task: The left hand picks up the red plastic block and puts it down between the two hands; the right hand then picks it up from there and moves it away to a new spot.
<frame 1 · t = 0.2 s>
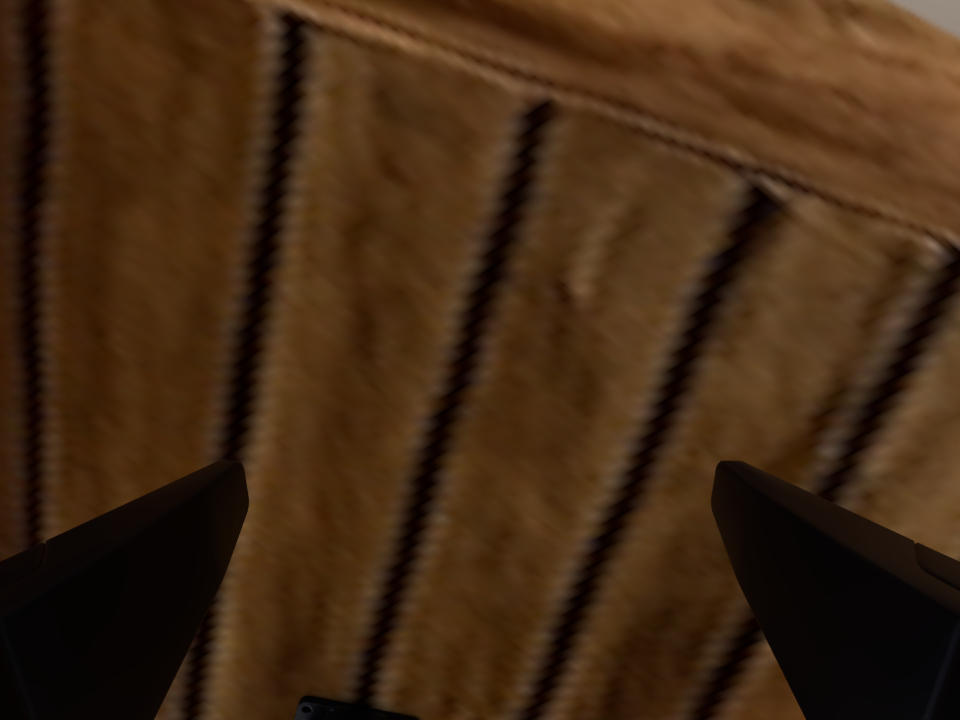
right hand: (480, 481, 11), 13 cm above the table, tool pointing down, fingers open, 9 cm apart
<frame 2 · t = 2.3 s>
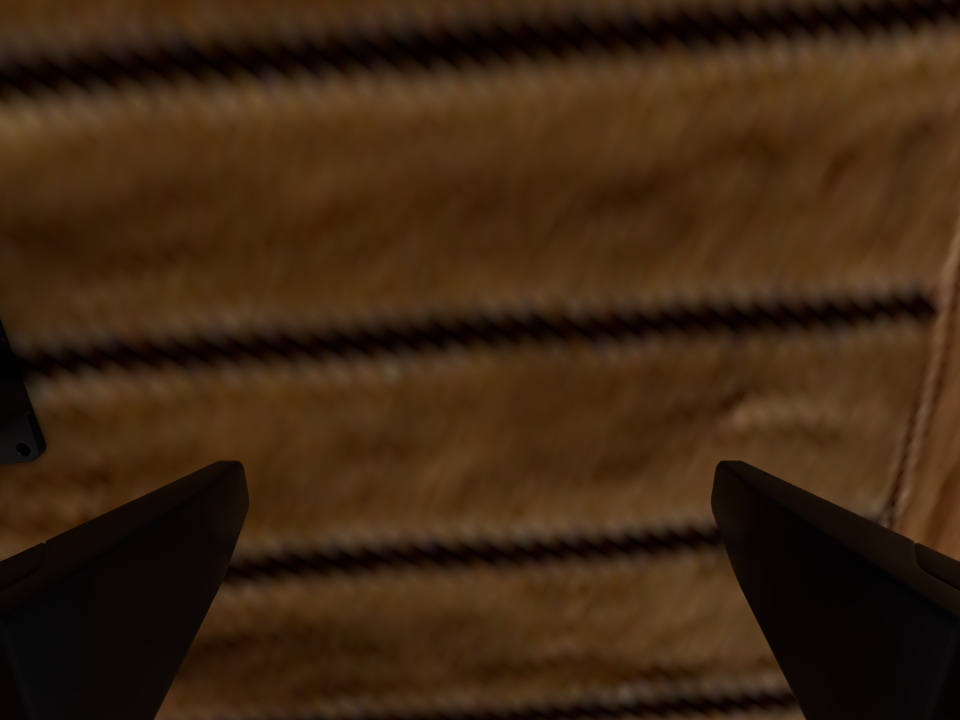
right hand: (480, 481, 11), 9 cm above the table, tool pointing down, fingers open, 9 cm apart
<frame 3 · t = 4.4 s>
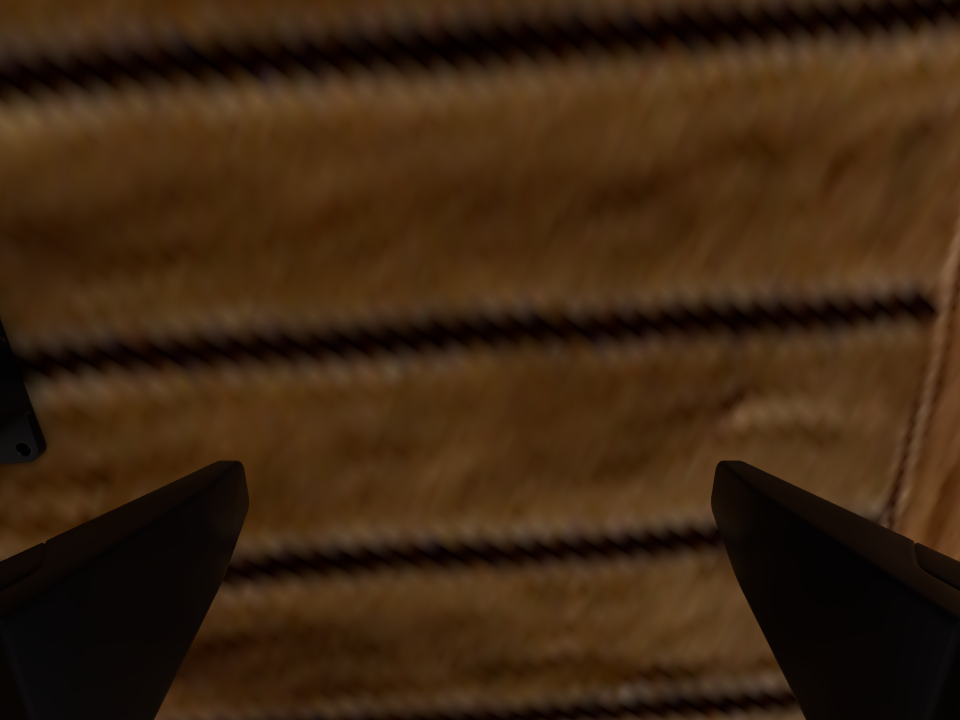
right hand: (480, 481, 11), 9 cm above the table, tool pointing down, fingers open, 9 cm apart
when the left hand's fingers open (2 cm above the table, at t = 6.7 s): block stays where it is, on the table.
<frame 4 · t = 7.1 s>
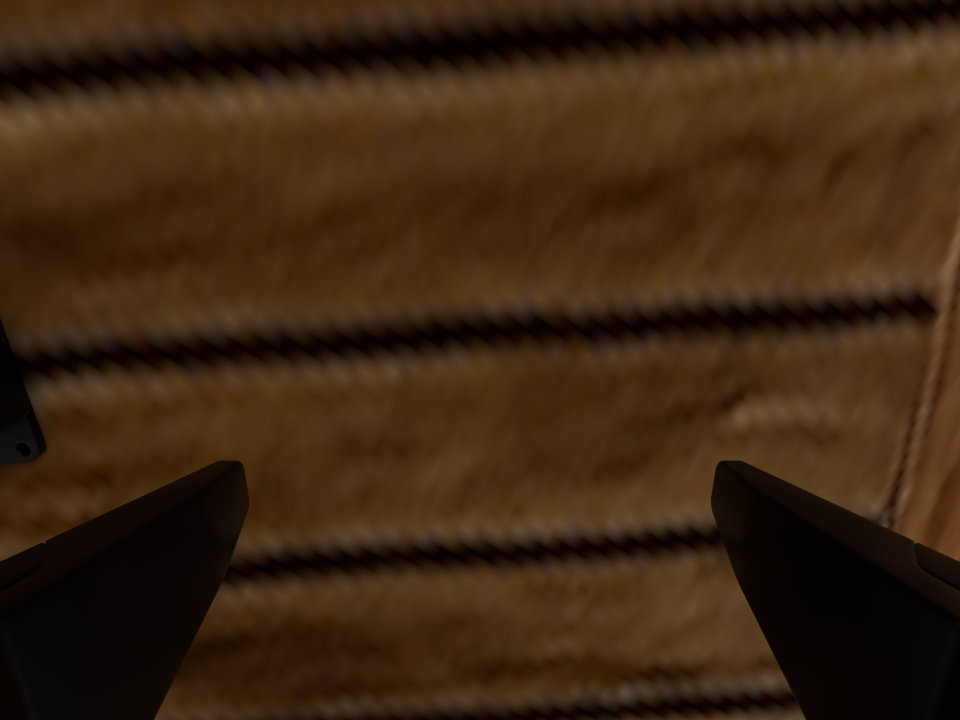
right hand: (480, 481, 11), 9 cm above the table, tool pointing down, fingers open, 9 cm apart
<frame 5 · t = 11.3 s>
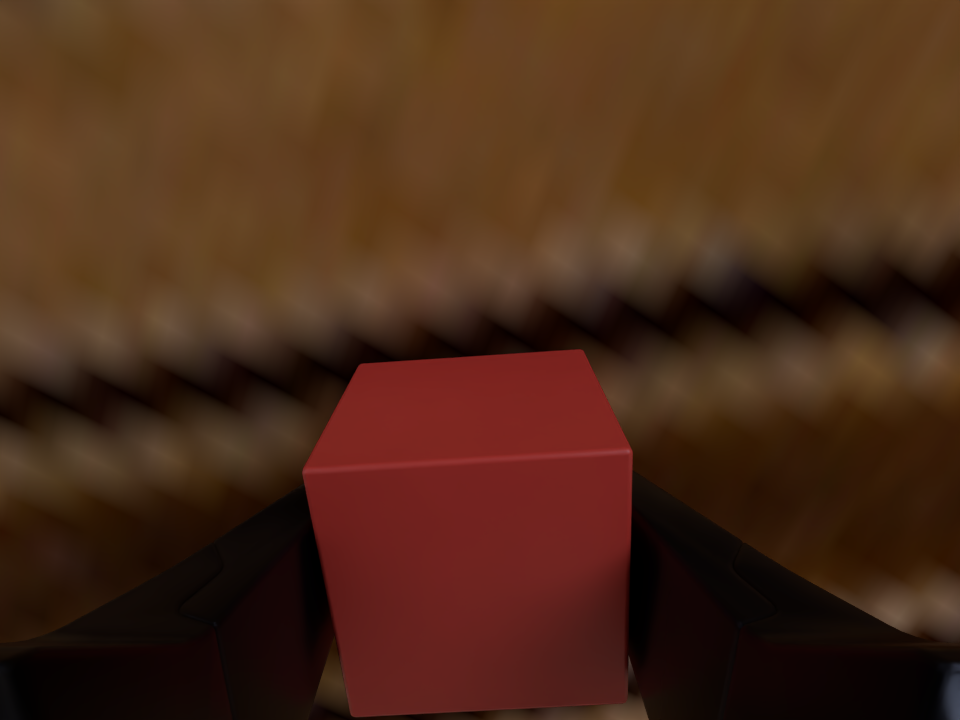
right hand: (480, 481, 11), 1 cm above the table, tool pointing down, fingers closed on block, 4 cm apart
block: (478, 457, 12), on the table, touching right hand
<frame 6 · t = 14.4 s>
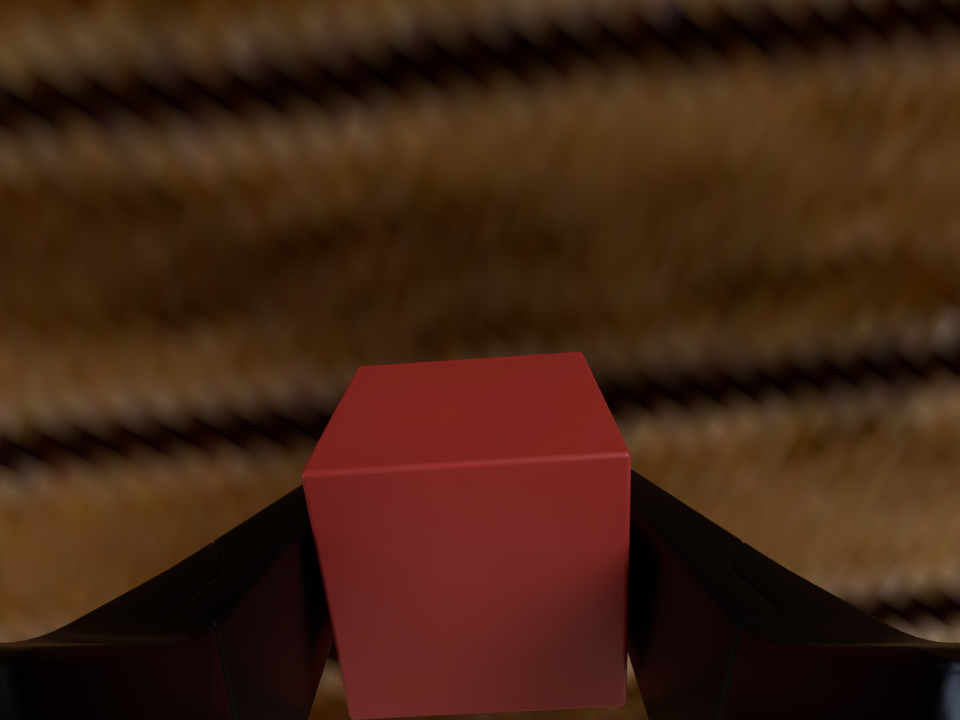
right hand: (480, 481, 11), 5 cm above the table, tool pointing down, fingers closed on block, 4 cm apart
block: (477, 459, 12), point 4 cm above the table, touching right hand
when the right hand's fingers open (2 cm above the table, at t = 17.9 s): block stays where it is, on the table.
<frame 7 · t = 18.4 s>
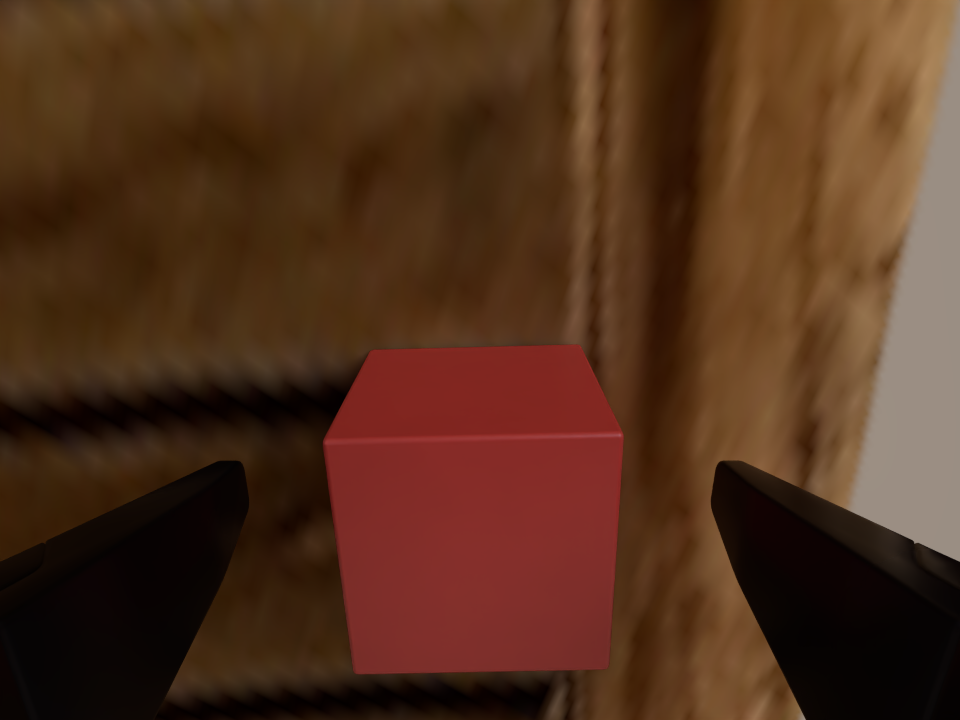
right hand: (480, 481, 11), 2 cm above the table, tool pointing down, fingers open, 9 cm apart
block: (478, 442, 13), on the table
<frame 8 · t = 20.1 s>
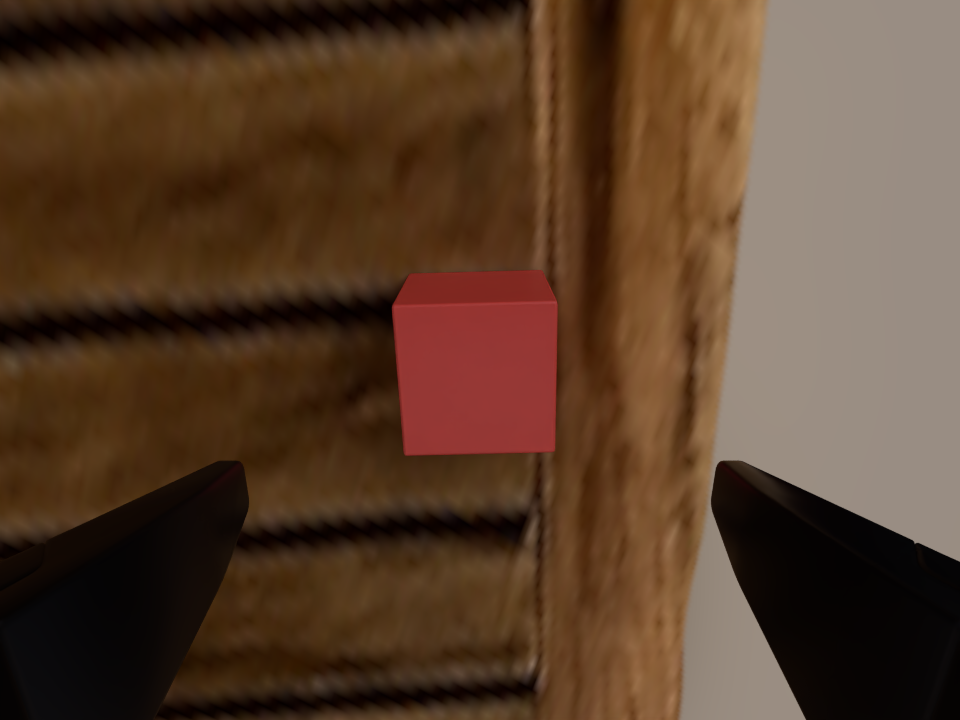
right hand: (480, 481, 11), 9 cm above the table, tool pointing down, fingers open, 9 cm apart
block: (477, 337, 20), on the table
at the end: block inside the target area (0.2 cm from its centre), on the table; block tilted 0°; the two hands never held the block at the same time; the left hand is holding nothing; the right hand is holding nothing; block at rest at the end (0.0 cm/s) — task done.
